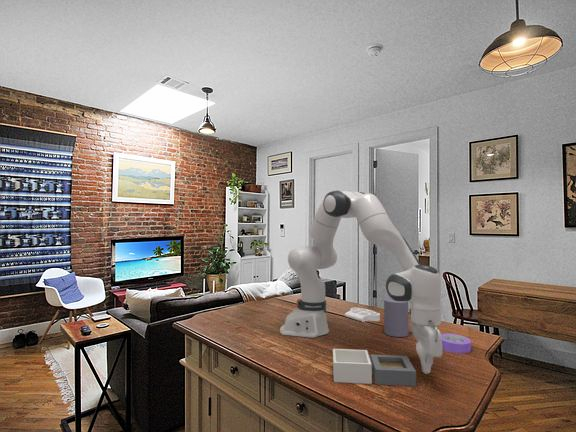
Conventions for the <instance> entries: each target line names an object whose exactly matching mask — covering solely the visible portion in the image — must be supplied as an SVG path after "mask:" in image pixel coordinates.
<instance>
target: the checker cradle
mask: <svg viewBox="0 0 576 432" xmlns="http://www.w3.org/2000/svg"><path fill="white" fill-rule="evenodd" d="M370 361H371V364H372V376H373V377H372V378H373V380H374V383H375V385H381V386H403V387H417V370H416V369H415V368H414V367H415V366H413V364H412V362H411V361H410V359H409V357H408V355H397V354H395V355H393V354H392V355H391V354H390V355H389V354H370ZM379 362H391V363H401V364H402V366H403V368H390V367H381V365H380V363H379Z"/></svg>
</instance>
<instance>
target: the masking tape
mask: <svg viewBox="0 0 576 432" xmlns="http://www.w3.org/2000/svg"><path fill="white" fill-rule="evenodd" d="M441 337H442V351H444V352H450V353H453V354H468V353H470V352H472V340H471V339H470V338H468V337H466V336H463V335H461V334H455V333H441Z"/></svg>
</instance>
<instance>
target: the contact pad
mask: <svg viewBox="0 0 576 432" xmlns="http://www.w3.org/2000/svg"><path fill="white" fill-rule="evenodd" d="M379 363H380V365H381V367H390V368H403V366H402V364H401V363H391V362H379Z"/></svg>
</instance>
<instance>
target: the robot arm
mask: <svg viewBox="0 0 576 432" xmlns="http://www.w3.org/2000/svg"><path fill="white" fill-rule="evenodd" d="M342 218H345V219H350V218H356V221H357V222H358V225H359V228H360V230H361V232H362V235H363V236H364V237H365V239H366V240H367V241H368V242H369V243H371V244H373V245H376V246H379V247H382V248H385V249H387V250H388V251H390V252H391V253H392V254H393V255H394V256H395V258H396V259H397V261H398V263H399V265H400V266H401V268H402V270H403V271H401V272H396V273H393V274H390V275H389V276H388V277H387V279H386V282H385V291H386V292H387V295H388V297H389V298H392V299H393V300H395V301H401V302H402V301H408V303H410V305H411V306H410V307H411V308H408V315H410V327H411V333H412V335H413V337H414V339H416V341H417V342H418V341H420V342H421V344H422V347H423V348H424V349H425V351H426V354H427V356H426V363H427V365H431V366H433V364H434V358H441V357H443V356H442V355H443V349H442V337H441V334H442V332H441V330H440V329H439V328H438V327H437V326H440V325H441V324H442V307H441V297H442V285H441V282H442V281H441V276H440V273H439V271H438V269H437V268H435V267H433V266H431V265H426V264H421V263H420V261H419V260H418V258H417V256H416V254H415V253H414V251H413V249H412V248H411V246H410V245H409V243H408V242H407V240H406V239H405V237H404V236H403V235H402V233H400V231H399V230H398V229H397V228H396V227H395V226H394V224H393V222H392V221H391V219H390V217H389V215H388V213H387V211H386V210H385V207H384V206H383V204H382V203H381V201H380V199H378V197H377V196H376V195H375V194H373V193H365V192H363V191H362V192H361V191H354V190H332V191H330V192H327V193H326V195H325V196H324V198H323V200H322V202H321V203H320V204H319V207H318V208H317V210H316V213H315V215H314V219H313V221H312V224H311V226H310V227H311V228H310V230H309V234H310V237H311V238H312V239H313V240H314V241H313V244H312V245H309V246H298V247H295V248H293V249H291V250H290V251H289V253H288V256H287V263H288V265H289V267H290V269H292V270H293V271H294V272H295V273H296V275H297V277H298V278H299V283H300V292H301V294H300V295H301V296H300V297H301V298H297V299H296V308H295V309H294V310H292V311H291V312H290V313H289V314H287V316H286V318H285V321H284V324H282V325H281V326H280V328H279V332H280V334H281V335H282V336H284V335H285V336H292V337H293V336H294V337H301V338H302V337H303V338H313V339H314V338H316V337H321V336H323V335H327V334H329V332H330V329H329V326H328V320H327V319H328V318H327V314H326V313H327V312H328V311H327V300H326V283H325V282H324V280H323V279H321V278H319V276H318V273H317V270H326V269H329V268H331V267H333V266H335V264H336V263H337V261H338V255H337V252H336V249H334V240H335V236H336V234H337V230H338V228H339V225H340V222H341V219H342Z"/></svg>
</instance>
